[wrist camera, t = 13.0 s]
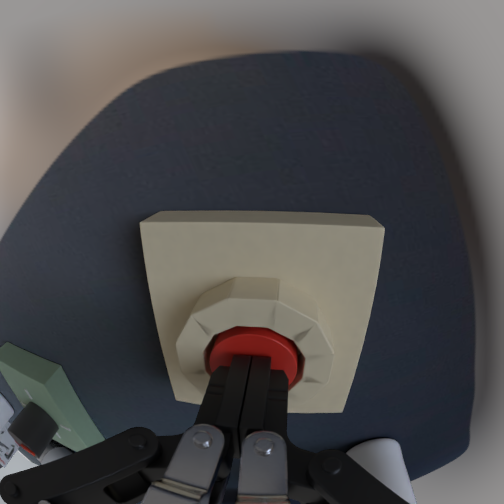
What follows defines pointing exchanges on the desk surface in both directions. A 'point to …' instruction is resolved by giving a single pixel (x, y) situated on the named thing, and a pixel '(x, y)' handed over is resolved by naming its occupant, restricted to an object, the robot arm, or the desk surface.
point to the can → (5, 411)
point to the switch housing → (264, 292)
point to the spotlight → (53, 454)
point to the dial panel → (49, 395)
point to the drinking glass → (385, 465)
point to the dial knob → (33, 429)
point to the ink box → (7, 445)
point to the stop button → (255, 348)
